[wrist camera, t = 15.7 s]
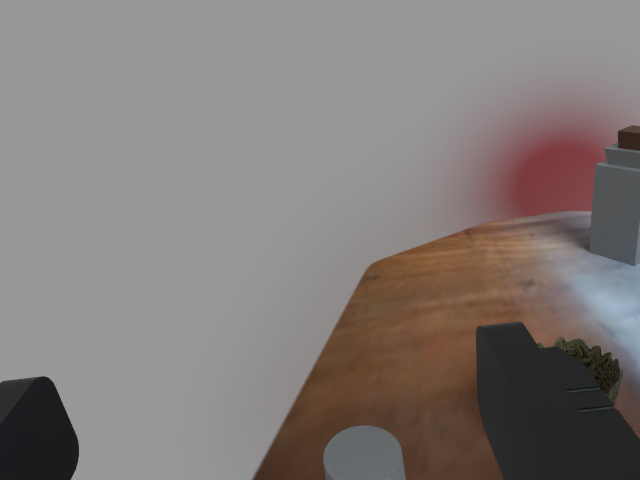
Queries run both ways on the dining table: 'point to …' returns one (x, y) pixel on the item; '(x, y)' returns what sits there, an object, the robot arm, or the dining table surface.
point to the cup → (594, 364)
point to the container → (363, 455)
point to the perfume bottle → (618, 200)
